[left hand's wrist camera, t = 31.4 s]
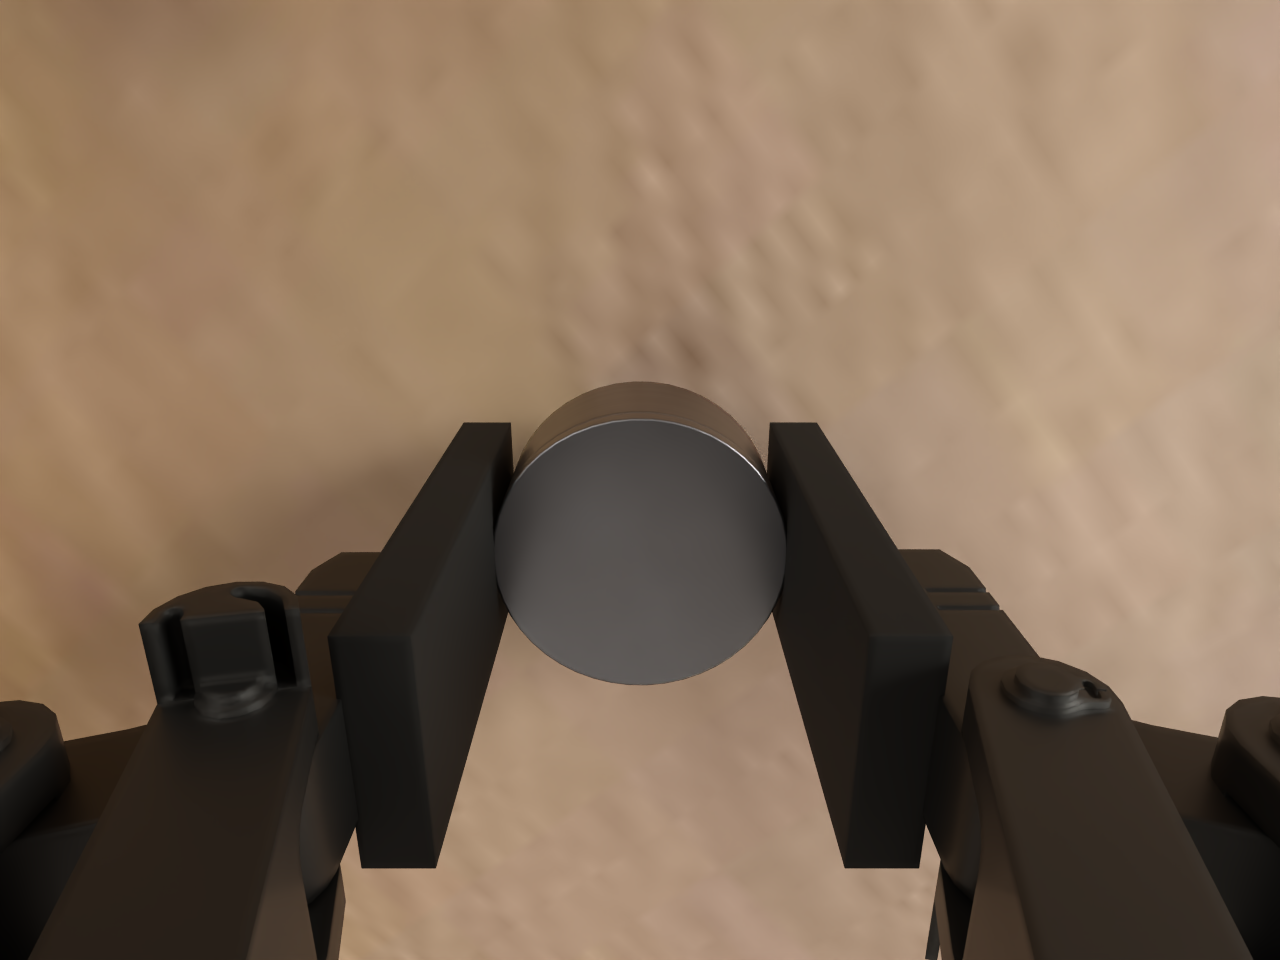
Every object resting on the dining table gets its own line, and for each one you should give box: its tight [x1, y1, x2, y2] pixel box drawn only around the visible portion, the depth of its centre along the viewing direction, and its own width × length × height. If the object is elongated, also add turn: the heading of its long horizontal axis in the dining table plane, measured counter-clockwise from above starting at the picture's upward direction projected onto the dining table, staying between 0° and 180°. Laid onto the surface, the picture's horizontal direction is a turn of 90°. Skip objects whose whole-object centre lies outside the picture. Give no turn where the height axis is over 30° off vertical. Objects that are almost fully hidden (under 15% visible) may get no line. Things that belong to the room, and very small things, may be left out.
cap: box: [494, 382, 787, 685], centre depth 13 cm, size 4×4×2 cm
